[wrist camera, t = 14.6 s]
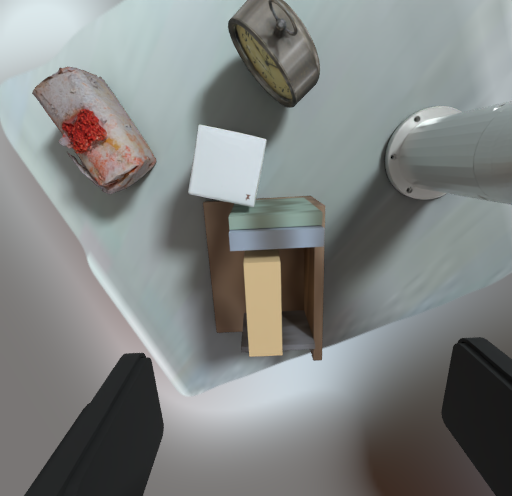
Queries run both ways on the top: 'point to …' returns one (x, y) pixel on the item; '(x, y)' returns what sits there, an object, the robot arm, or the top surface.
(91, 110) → the food item
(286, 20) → the alarm clock
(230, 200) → the supplement box
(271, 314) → the book
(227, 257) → the shelf
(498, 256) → the top surface
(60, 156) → the top surface
